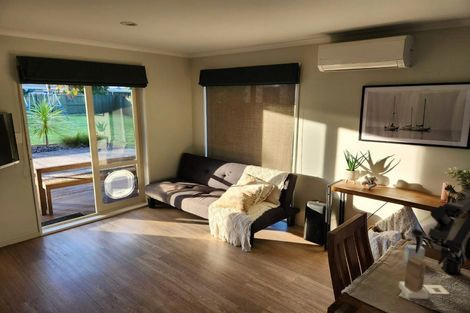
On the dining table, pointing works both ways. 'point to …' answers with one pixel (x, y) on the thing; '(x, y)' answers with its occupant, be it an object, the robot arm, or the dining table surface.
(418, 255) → the medicine box
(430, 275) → the dining table surface
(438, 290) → the card
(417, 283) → the brown tall block
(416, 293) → the base block
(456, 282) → the dining table surface
